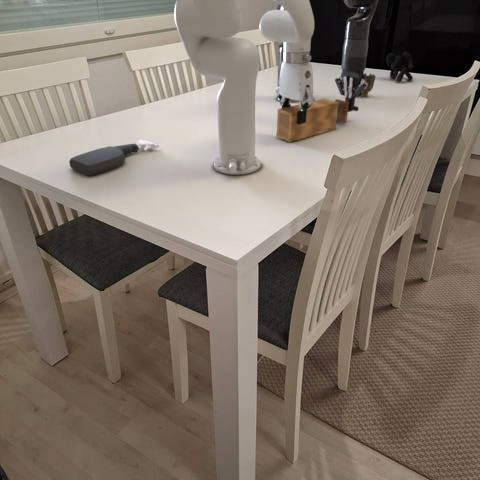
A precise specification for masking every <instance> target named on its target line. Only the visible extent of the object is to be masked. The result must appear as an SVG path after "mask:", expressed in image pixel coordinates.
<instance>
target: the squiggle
mask: <svg viewBox="0 0 480 480" xmlns="http://www.w3.org/2000/svg"><path fill="white" fill-rule="evenodd" d="M401 57H402V59H401ZM391 59H392V60H391ZM393 60H394V61H393ZM385 61H386V64H387V67H390V68H391V70H390V72H389V78H390V79H391V80H395V79H396V81H397V82H399V83H400V82H402V81H403V79H404V76H406V78H407V80H408V81H412V80H413V79H414V77H413V75H412V74H411V73H410V72H409V71H410V70H412V69H413V68H414V64H413V61H412V57H411V54H410V53H409V52H408V51H403V53H402V54H401V55H396V54H394V53H392V52H390V53H387V55H386V57H385ZM406 62H407V65H408V66H407V67H405V66H404V65H405V64H406ZM400 70H401V71H400Z"/></svg>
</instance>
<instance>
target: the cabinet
mask: <svg viewBox="0 0 480 480" xmlns="http://www.w3.org/2000/svg"><path fill="white" fill-rule="evenodd" d="M302 104H303V105H304V103H303V102H302ZM337 110H338V102H335V100H334V101H333V100H330V99H326V98H322V99H317V100H315V102H314V103H313V104H312V105H311V106H310V107H309V109H308V110H307V116H306V123H303V124H297V116H298V111H299V106H298V104H295V105H291V106H290V107H285V108H282V107H281V108H278V109H277V118H276V121H277V122H276V138H278V139H281V140H284V141H285V142H286V141H287V142H289V143H292V142H295V141H298V140H302V139H307V138H310V137H313V136H317V135H320V134H324V133H328V132H331V131H334V130H336V126H337V123H336V119H337Z"/></svg>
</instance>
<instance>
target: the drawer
mask: <svg viewBox="0 0 480 480" xmlns="http://www.w3.org/2000/svg"><path fill="white" fill-rule="evenodd" d="M334 102H338V110H337V119H336V124H339V123H342V124H346V123H347V122H348V114H349V113H350V112H359V106H355V105H354V108H353V109H349V110H348V106H349V102H346V101H345V100H342V99H335V100H334Z"/></svg>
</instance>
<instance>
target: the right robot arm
mask: <svg viewBox="0 0 480 480" xmlns="http://www.w3.org/2000/svg"><path fill="white" fill-rule="evenodd" d="M343 2H344V4H345V5H346V6H347V7H348V8H350V9H357V10H356V13H355V14H354V15H353V16H350V17H349V18H348V19H347V20H346V23H345V24H346V26H345V31H344V32H345V33H344V41H343V46H342V56H341V67H340V68H341V70H342V71H341V73H340V76H339V77H336V78H335V79H334V82H335V84H336V87H337V89H338V91H339V93H340V95H341V96H343V97H344V101H346V102H349V106H348V110H349V109H353V108H354V106H355V100H356V99H357V98H360V97H362V96H361V95H362V94H363V92H364V91H365V90H366V89H367V88H368V87H369V85H370V84H369V83H366V81H365V80H364V74H365V73H364V72H365V70H366V66H367V58H368V51H369V50H368V49H369V34H370V25H371V22H372V20H373V17H374V14H375V11H376V8H377V5H378V2H379V0H343ZM276 10H285V9H284V8H283V7H282V6H281V5H279V4H277V7H276ZM283 45H284V42H280V43H279V45H278V46H277V47H278V49H277V51H278V53H277V82H276V83H277V85H276V87H277V88H278V87H279V80H280V71H281V65H282V62H283ZM277 88H276V89H277ZM286 99H287V98H286ZM276 100H277V101H278V102H280V100H279V98H278V95H277V94H276ZM294 102H297V101H296V100H292V99H291V100H290V102H289V103H294Z"/></svg>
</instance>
